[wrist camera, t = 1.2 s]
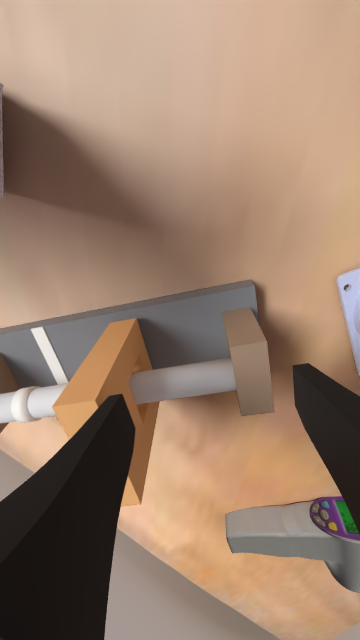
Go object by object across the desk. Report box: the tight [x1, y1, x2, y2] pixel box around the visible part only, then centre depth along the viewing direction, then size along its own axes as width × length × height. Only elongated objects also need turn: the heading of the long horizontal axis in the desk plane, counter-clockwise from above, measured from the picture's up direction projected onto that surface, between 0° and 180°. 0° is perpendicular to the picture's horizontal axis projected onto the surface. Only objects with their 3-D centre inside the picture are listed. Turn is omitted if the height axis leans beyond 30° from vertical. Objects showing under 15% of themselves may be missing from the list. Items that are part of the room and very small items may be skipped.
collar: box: [52, 318, 159, 506], centre depth 17 cm, size 2×7×9 cm, turn 13°
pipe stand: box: [0, 280, 274, 433], centre depth 20 cm, size 23×8×7 cm, turn 103°
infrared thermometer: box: [226, 497, 360, 593], centre depth 30 cm, size 5×12×15 cm
